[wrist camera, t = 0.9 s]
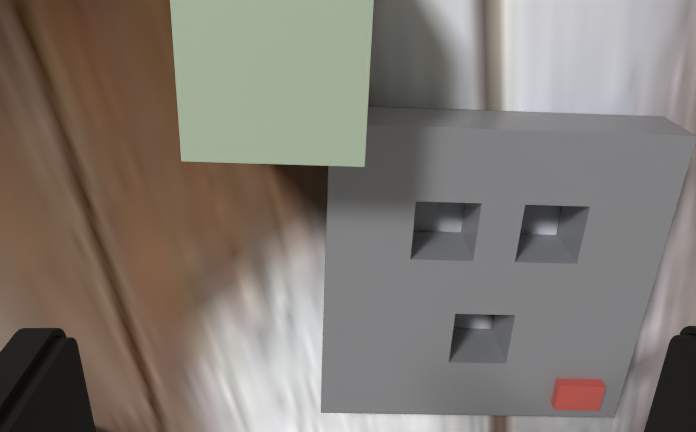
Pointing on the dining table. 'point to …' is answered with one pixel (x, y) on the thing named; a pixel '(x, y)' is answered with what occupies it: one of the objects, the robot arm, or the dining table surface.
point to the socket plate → (495, 261)
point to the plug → (273, 80)
